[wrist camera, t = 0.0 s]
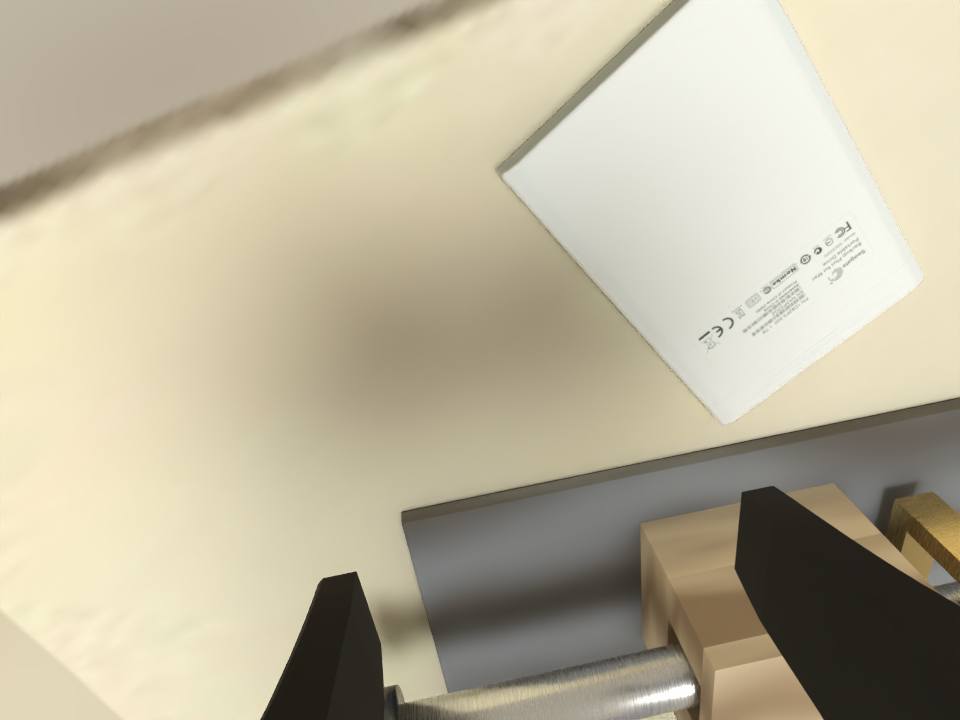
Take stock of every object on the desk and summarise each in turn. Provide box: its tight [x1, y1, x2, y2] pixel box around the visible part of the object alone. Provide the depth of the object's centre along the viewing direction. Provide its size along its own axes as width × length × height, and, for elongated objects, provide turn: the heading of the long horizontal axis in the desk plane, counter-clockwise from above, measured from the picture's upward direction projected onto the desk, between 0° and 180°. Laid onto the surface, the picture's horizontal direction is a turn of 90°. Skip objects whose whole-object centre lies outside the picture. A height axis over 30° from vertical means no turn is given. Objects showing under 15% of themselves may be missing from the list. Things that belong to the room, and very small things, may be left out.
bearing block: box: [401, 398, 960, 720], centre depth 24 cm, size 12×26×7 cm, turn 98°
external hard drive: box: [496, 0, 924, 425], centre depth 20 cm, size 2×8×12 cm
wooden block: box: [886, 491, 960, 584], centre depth 24 cm, size 5×2×5 cm, turn 8°
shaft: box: [384, 581, 960, 720], centre depth 23 cm, size 3×25×3 cm, turn 98°
